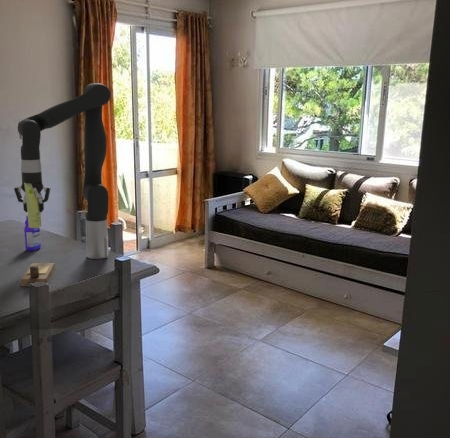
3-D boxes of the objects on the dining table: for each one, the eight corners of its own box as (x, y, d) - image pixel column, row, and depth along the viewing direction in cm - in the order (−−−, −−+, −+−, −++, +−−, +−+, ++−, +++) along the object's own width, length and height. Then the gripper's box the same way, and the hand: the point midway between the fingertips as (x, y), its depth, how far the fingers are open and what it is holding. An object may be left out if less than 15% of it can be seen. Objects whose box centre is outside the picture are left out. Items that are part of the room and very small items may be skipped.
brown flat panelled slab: (55, 269, 199) (54, 253, 197) (46, 286, 182) (45, 268, 180) (32, 270, 197) (30, 254, 196) (21, 286, 180) (20, 269, 179)
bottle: (34, 252, 220) (32, 215, 216) (23, 250, 221) (20, 214, 217) (43, 247, 227) (41, 211, 223) (32, 246, 228) (30, 210, 224)
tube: (40, 228, 196) (37, 181, 192) (27, 228, 195) (23, 181, 191) (42, 225, 202) (39, 178, 197) (29, 225, 201) (26, 178, 196)
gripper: (51, 169, 198) (54, 209, 202) (15, 168, 196) (17, 209, 200) (48, 172, 191) (50, 214, 195) (9, 171, 188) (12, 214, 192)
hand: (33, 211), depth 197 cm, fingers closed on tube, 5 cm apart
